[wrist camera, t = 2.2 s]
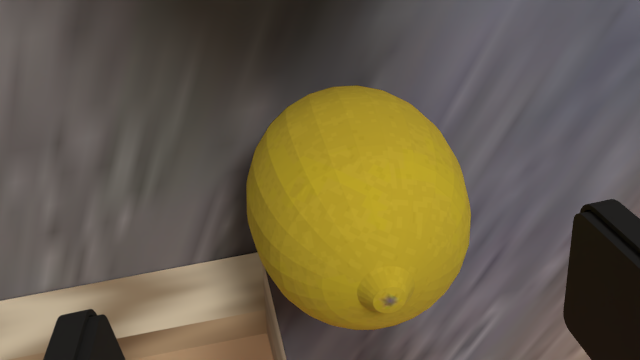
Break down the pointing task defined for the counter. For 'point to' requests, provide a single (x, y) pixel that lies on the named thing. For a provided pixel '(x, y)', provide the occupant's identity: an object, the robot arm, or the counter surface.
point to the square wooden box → (160, 314)
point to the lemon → (358, 208)
